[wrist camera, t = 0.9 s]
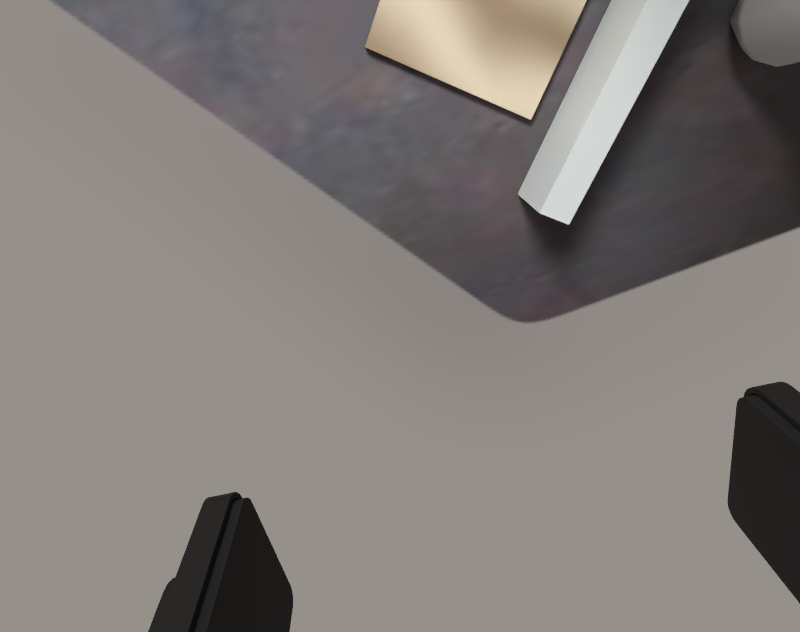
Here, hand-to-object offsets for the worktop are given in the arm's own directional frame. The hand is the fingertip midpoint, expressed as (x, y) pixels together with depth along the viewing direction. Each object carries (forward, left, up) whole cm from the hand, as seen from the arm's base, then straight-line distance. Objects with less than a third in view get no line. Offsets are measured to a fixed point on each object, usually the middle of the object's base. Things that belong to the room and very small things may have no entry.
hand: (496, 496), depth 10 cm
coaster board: (-12, 0, -27) cm, 30 cm away
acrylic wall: (-14, +8, -27) cm, 32 cm away
